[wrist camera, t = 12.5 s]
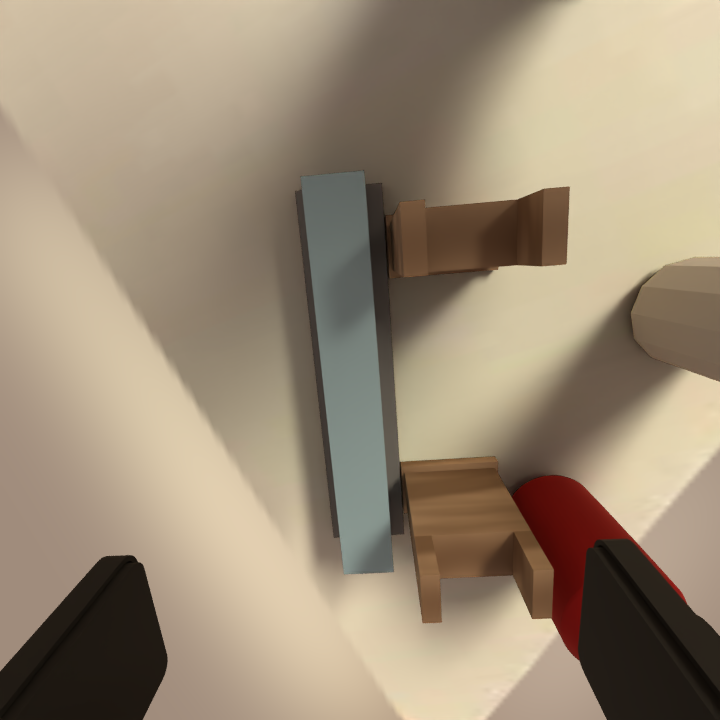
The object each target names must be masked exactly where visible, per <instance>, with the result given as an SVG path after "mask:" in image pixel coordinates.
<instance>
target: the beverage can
mask: <svg viewBox="0 0 720 720" xmlns="http://www.w3.org/2000/svg"><path fill="white" fill-rule="evenodd" d="M512 499H513V500H514V502H515V504H516V506H517V507H518V509H519V511H520V512H521V514H522V516H523V518H524V519H525V521H526V523H527V524H528V526H529V528H530V530H531V531H532V533H533V535H534V536H535V538H536V540H537V542H538V543H539V545H540V547H541V549H542V550H543V552H544V554H545V555H546V557H547V559H548V561H549V562H550V564H551V566H552V567H553V569H554V578H553V602H552V620H553V622H554V624H555V626H556V628H557V630H558V632H559V634H560V636H561V638H562V640H563V642H564V644H565V646H566V647H567V649H568V650H569V651H570V652H571V654H573V656H575V658H577V659H578V660H579V655H578V641H579V629H580V618H581V607H582V596H583V584H584V573H585V562H586V552H587V549H588V548H593V547H594V543H595V542H596V540H599V539H629V540H631V541H632V542H633V543H634V544H635V545H636V546H637V547H638V548H639V549H640V551H641V552H642V553H643V554H644V555H645V556H646V558H647V559H648V560H649V561H650V562H651V563H652V564H653V566H654V567H655V568H656V569H657V570H658V571H659V573H660V574H661V575H662V576H663V577H664V578H665V579H666V581H667V582H668V583H669V584H670V585H671V586H672V587H673V589H674V590H675V591H676V592H677V593H678V594H679V596H680V597H681V598H682V599H683V600H684V601H685V602H686V600H685V598H684V596H683V594H682V593H681V591H680V590H679V589H678V588H677V586H676V585H675V584H674V583H673V582H672V581H671V580H670V579H669V578H668V577H667V575H666V574H665V573H664V572H663V571H662V570H661V569H660V568H659V567H658V566H657V564H656V563H655V562H654V561H653V560H652V559H651V558H650V557H649V556H648V555H647V554H646V552H645V551H644V550H643V549H642V548H641V547H640V546H639V545H638V544H637V543H636V541H635V540H634V539H633V538H632V537H631V536H630V535H629V534H628V533H627V532H626V531H625V530H624V529H623V527H622V526H621V525H620V524H619V523H618V522H617V521H616V520H615V519H614V518H613V517H612V516H611V515H610V514H609V512H608V511H607V510H606V509H605V508H604V507H603V506H602V505H601V504H600V503H599V502H598V501H597V500H596V499H595V498H594V497H593V496H592V495H591V494H590V493H589V491H588V490H587V489H586V488H585V487H584V486H583V485H581V484H580V483H578V482H577V481H575V480H573V479H571V478H568V477H564V476H558V475H549V476H542V477H539V478H536V479H533V480H531V481H529V482H527V483H525V484H524V485H522V486H521V487H520V488H519V489H518V490H517V491H516V492H515V493H514V494H513V496H512ZM686 604H687V603H686ZM579 661H580V660H579Z"/></svg>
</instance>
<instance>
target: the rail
mask: <svg viewBox="0 0 720 720" xmlns="http://www.w3.org/2000/svg"><path fill="white" fill-rule="evenodd" d="M301 186H302V195H303V204H304V213H305V223H306V232H307V241H308V250H309V259H310V268H311V277H312V287H313V296H314V305H315V314H316V323H317V332H318V341H319V351H320V360H321V369H322V378H323V387H324V396H325V406H326V415H327V424H328V433H329V442H330V451H331V460H332V470H333V479H334V488H335V497H336V506H337V515H338V524H339V534H340V543H341V552H342V561H343V570H344V574H363V573H385V572H394V569H393V554H392V538H391V524H390V511H389V497H388V484H387V470H386V457H385V443H384V429H383V416H382V402H381V389H380V375H379V362H378V348H377V334H376V321H375V307H374V294H373V280H372V266H371V253H370V239H369V226H368V212H367V199H366V185H365V175H364V170H363V171H353V172H342V173H332V174H321V175H311V176H301Z"/></svg>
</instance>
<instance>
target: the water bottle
mask: <svg viewBox="0 0 720 720" xmlns="http://www.w3.org/2000/svg"><path fill="white" fill-rule="evenodd" d="M631 319H632V327H633V334H634V339H635V340H636V342H637V343H638V344H639V345H640V346H641V347H642V348H643V349H644V350H645V351H646V352H647V354H648V355H649V356H650V357H652V358H654V359H657V360H660V361H663V362H666V363H668V364H671V365H674V366H677V367H680V368H683V369H685V370H688V371H691V372H694V373H697V374H699V375H702V376H705V377H708V378H711V379H713V380H716V381H719V382H720V257H693V258H689V259H686V260H682V261H679V262H675V263H672V264H668V265H665V266H664V267H663V268H662V269H660V270H659V271H658V272H657V273H656V274H655V275H654V276H653V277H651V278H650V279H649V280H648V281H647V282H646V283H645V284H644V285H642V287H641V289H640V292H639V294H638V296H637V299H636V301H635V304H634V306H633V309H632V311H631Z"/></svg>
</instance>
